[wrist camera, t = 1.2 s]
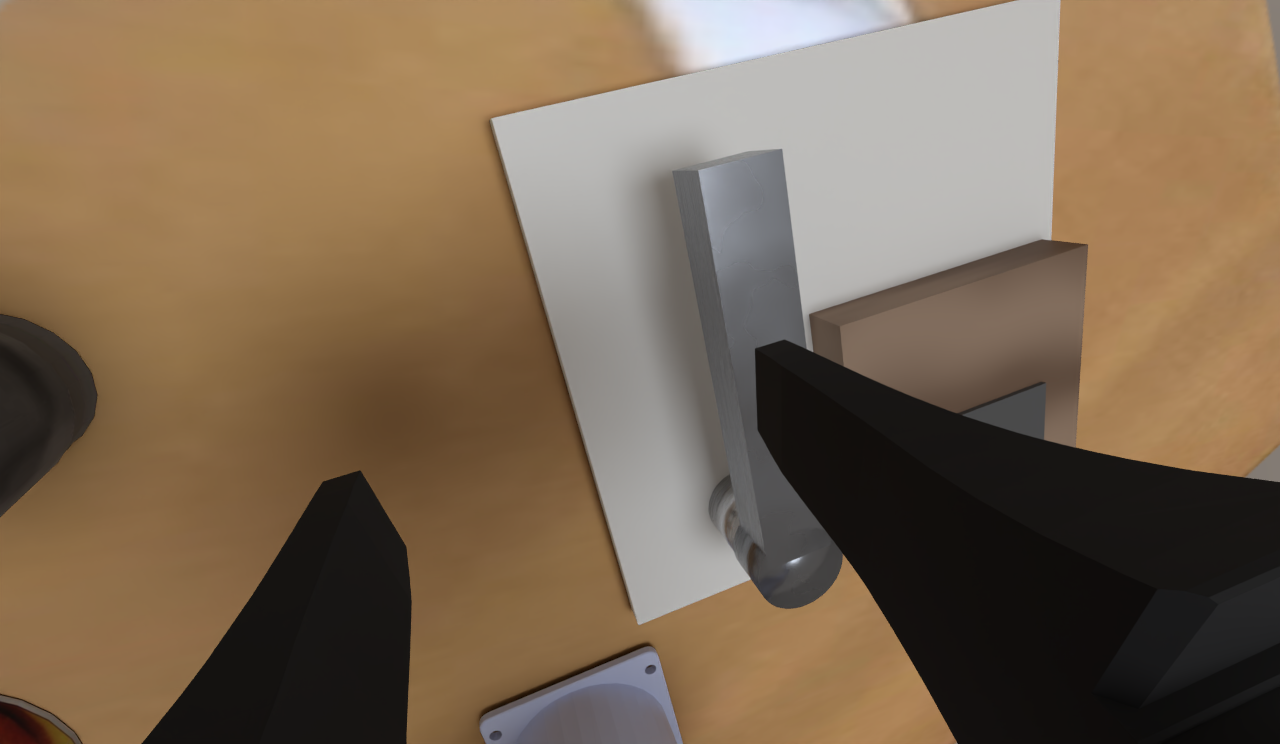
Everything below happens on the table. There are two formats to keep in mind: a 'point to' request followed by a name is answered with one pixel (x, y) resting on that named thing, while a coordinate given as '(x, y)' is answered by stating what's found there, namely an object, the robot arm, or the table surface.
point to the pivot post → (724, 510)
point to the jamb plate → (821, 225)
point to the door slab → (973, 332)
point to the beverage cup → (38, 404)
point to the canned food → (31, 725)
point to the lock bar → (753, 358)
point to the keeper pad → (1015, 411)
